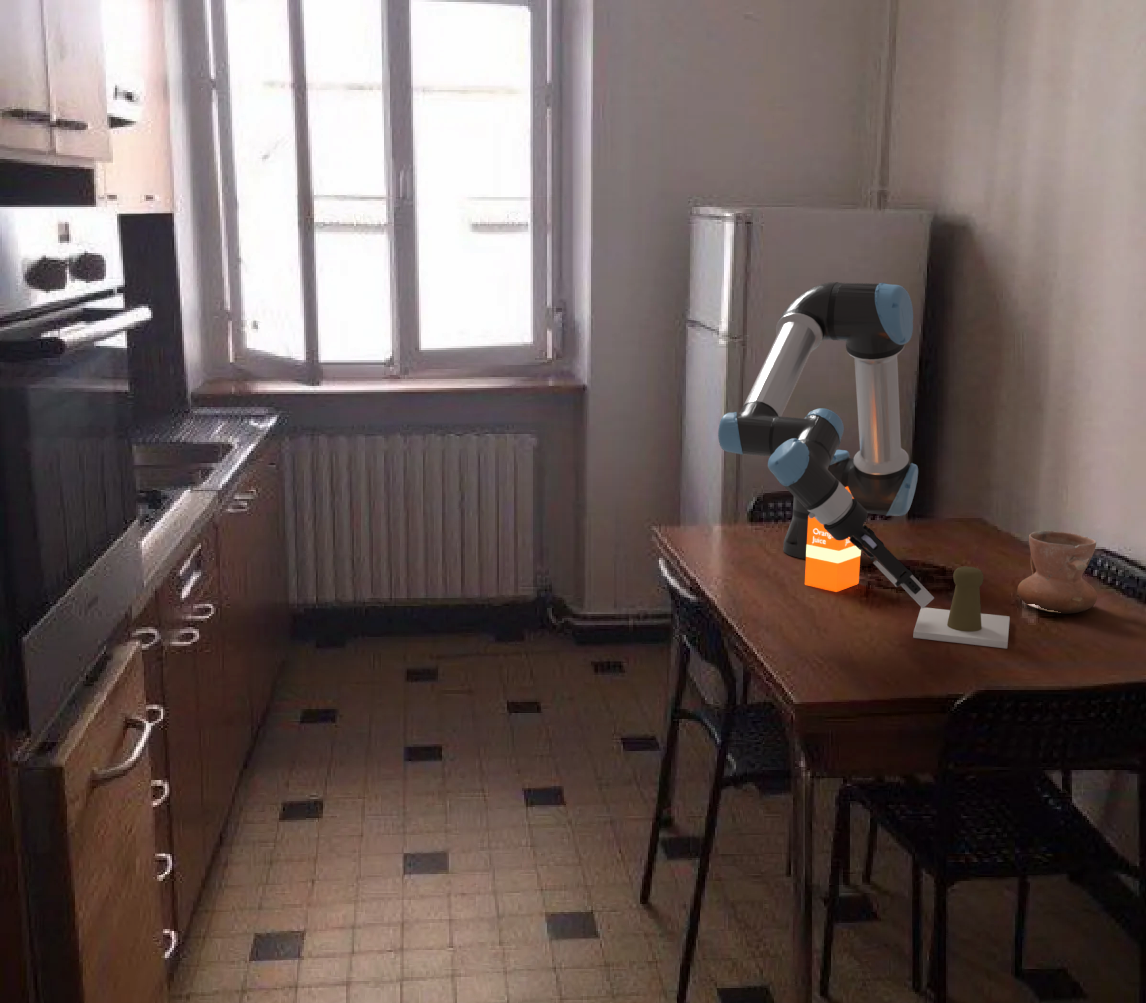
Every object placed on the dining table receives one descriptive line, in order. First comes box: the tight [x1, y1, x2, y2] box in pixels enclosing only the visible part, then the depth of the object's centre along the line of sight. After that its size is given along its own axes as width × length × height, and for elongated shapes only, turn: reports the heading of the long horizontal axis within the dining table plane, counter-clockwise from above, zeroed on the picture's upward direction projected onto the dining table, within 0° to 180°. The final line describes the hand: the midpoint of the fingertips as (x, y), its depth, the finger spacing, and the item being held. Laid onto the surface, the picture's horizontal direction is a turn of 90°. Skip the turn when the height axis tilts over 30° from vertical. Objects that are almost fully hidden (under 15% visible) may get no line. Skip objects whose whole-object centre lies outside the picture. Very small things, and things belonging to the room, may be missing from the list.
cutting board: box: [912, 606, 1011, 649], centre depth 230 cm, size 16×16×1 cm
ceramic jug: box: [1017, 530, 1098, 615], centre depth 243 cm, size 18×14×14 cm
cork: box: [947, 566, 984, 632], centre depth 227 cm, size 6×6×11 cm
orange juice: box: [804, 487, 862, 593], centre depth 257 cm, size 8×9×20 cm
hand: (914, 591), depth 228 cm, fingers open, 13 cm apart
